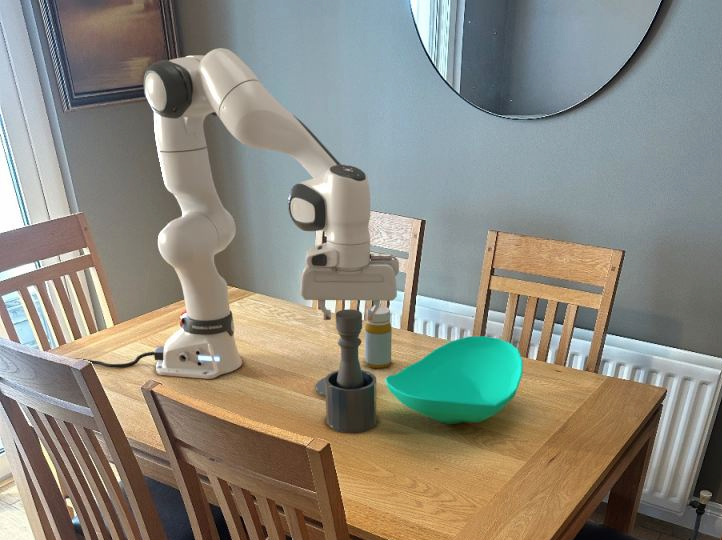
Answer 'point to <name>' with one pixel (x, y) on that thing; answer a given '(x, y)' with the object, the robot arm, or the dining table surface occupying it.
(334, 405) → the crock
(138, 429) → the dining table surface
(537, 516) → the dining table surface
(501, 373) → the table top decor
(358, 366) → the candle holder
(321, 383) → the lid
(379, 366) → the bottle
